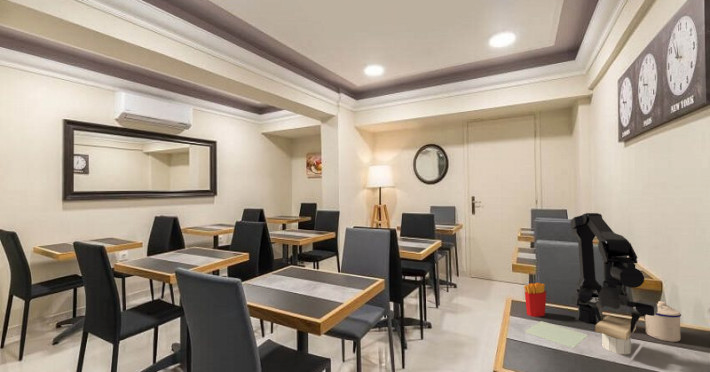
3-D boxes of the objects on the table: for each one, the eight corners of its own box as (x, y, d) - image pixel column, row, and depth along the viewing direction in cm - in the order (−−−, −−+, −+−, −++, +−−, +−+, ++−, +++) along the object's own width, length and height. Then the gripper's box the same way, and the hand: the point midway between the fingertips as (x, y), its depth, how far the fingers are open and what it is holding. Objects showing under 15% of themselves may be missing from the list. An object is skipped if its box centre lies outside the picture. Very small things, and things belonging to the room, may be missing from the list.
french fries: (540, 312, 131) (539, 280, 131) (549, 316, 127) (548, 283, 127) (521, 315, 128) (521, 282, 129) (530, 319, 124) (529, 285, 124)
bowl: (606, 343, 105) (605, 327, 105) (633, 351, 100) (632, 335, 100) (599, 349, 101) (599, 333, 101) (627, 358, 95) (627, 341, 95)
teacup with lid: (689, 342, 105) (689, 306, 105) (661, 342, 105) (661, 307, 105) (655, 326, 117) (655, 294, 117) (630, 326, 117) (629, 294, 117)
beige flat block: (607, 321, 107) (606, 315, 107) (636, 329, 101) (635, 322, 101) (595, 331, 99) (595, 325, 99) (626, 340, 93) (626, 333, 94)
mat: (541, 322, 121) (541, 321, 121) (588, 336, 109) (588, 335, 109) (524, 333, 112) (524, 331, 112) (573, 349, 101) (573, 348, 101)
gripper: (571, 276, 103) (572, 325, 103) (649, 290, 88) (650, 347, 88) (583, 270, 110) (584, 316, 109) (657, 283, 95) (658, 336, 95)
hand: (615, 328), depth 100 cm, fingers closed on beige flat block, 7 cm apart
